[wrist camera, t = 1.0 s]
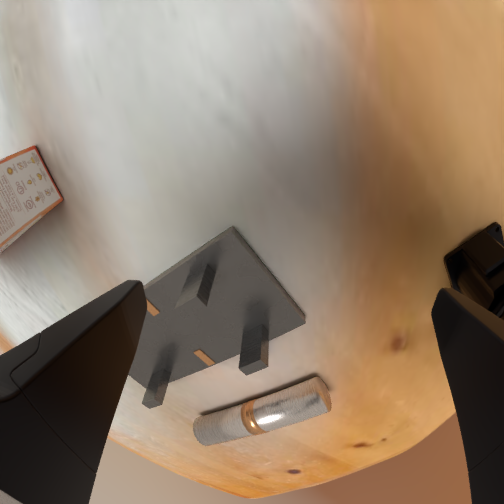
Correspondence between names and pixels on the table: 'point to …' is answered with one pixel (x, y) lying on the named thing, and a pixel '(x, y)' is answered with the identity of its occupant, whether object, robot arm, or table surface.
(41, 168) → the cracker box
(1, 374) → the robot arm
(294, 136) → the table surface
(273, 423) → the tube
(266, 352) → the stand
